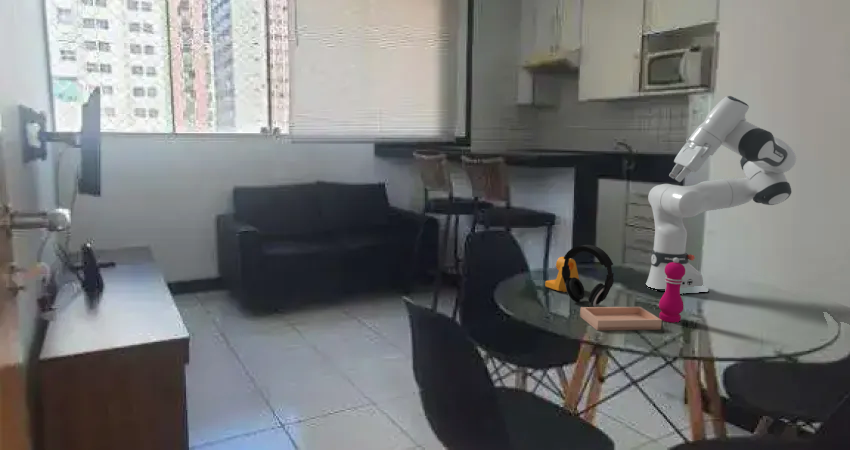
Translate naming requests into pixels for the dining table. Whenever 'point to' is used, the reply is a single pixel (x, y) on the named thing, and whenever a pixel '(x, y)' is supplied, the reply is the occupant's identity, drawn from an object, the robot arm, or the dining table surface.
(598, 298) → the headphones
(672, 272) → the pepper mill
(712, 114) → the robot arm
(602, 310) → the tray
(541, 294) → the dining table surface
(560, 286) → the bracket
